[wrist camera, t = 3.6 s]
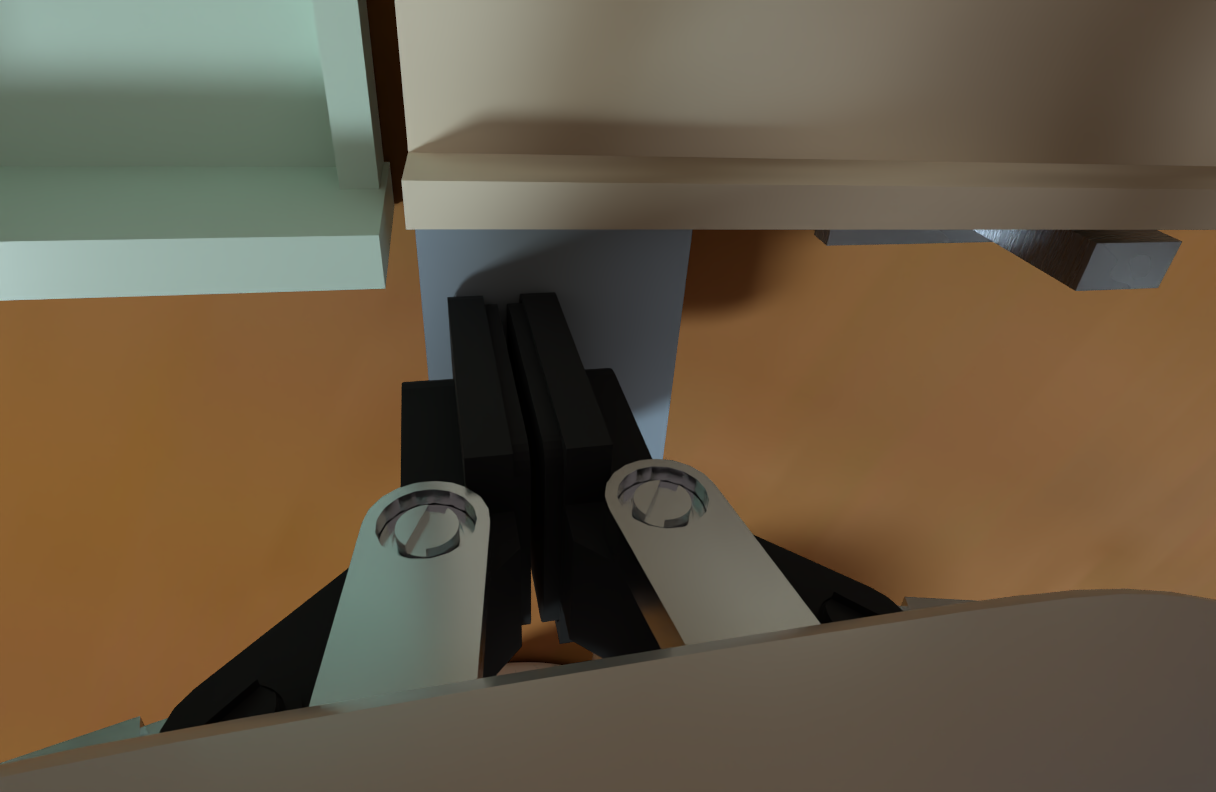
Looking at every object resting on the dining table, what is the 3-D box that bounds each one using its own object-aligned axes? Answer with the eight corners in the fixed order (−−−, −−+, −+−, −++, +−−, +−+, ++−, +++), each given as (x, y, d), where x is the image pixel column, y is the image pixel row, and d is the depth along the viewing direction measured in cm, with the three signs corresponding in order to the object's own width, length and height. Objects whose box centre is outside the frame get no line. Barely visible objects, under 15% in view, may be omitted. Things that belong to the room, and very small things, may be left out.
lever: (2026, -392, 10) (2456, -474, 8) (1395, 399, 17) (1528, 469, 15) (337, -756, 6) (267, -1099, 4) (439, 444, 13) (434, 546, 11)
